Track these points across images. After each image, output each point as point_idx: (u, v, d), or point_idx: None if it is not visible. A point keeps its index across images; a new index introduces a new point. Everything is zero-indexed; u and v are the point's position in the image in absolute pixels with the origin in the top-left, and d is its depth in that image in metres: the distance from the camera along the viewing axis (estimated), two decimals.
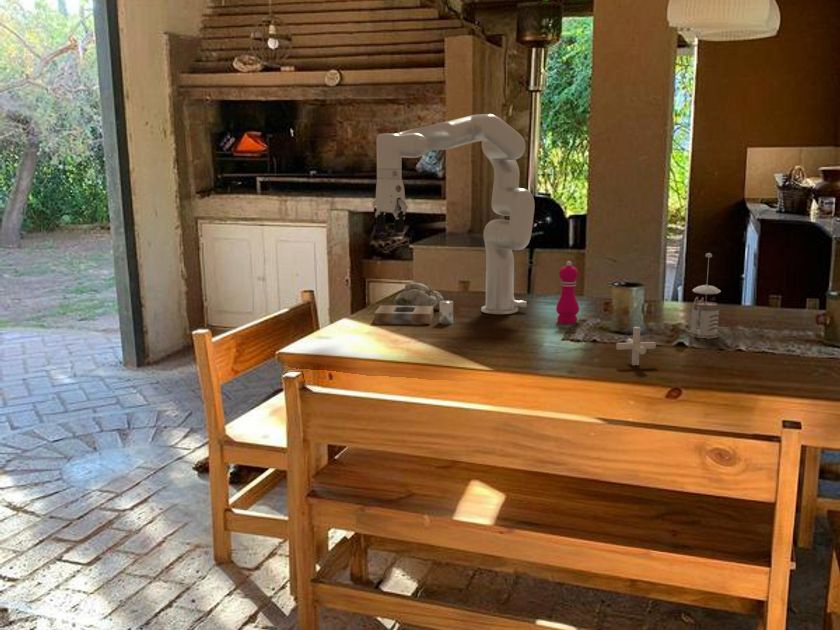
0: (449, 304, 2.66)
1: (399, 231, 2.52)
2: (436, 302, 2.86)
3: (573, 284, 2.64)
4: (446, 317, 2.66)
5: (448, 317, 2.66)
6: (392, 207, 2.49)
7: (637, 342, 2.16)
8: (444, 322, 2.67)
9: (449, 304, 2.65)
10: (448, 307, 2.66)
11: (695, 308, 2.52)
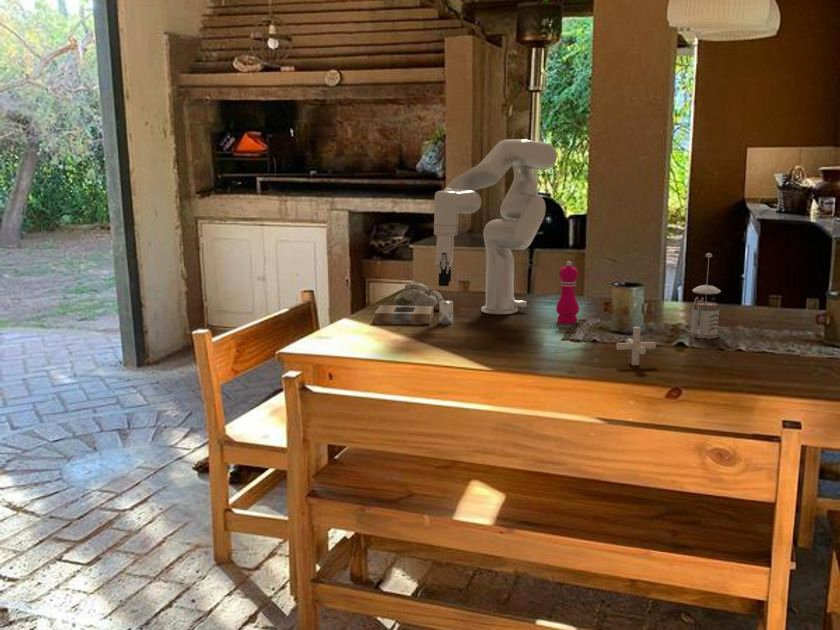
0: (449, 304, 2.66)
1: None
2: (436, 302, 2.86)
3: (573, 284, 2.64)
4: (446, 317, 2.66)
5: (448, 317, 2.66)
6: None
7: (637, 342, 2.16)
8: (444, 322, 2.67)
9: (449, 304, 2.65)
10: (448, 307, 2.66)
11: (695, 308, 2.52)
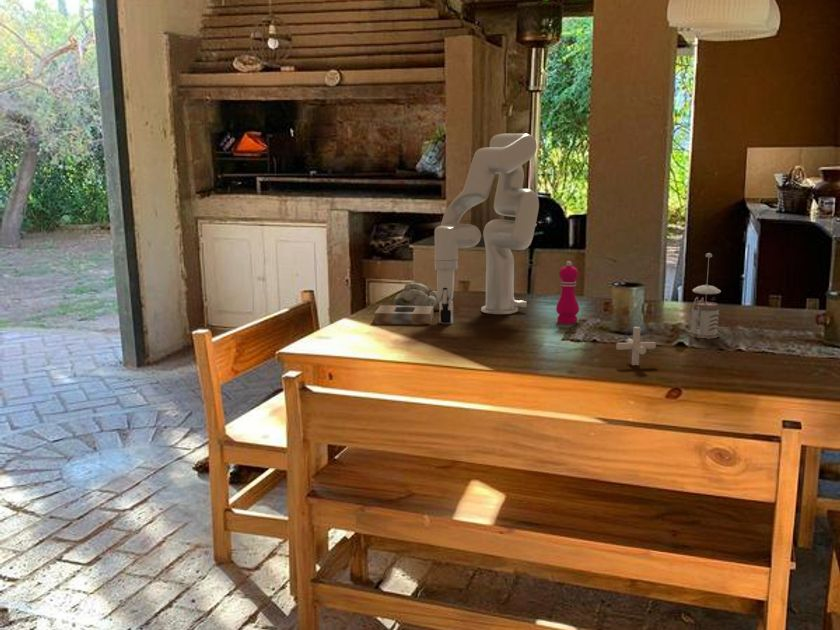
0: None
1: None
2: (435, 302, 2.86)
3: (573, 284, 2.64)
4: None
5: None
6: None
7: (637, 342, 2.16)
8: (444, 322, 2.67)
9: None
10: None
11: (695, 308, 2.52)
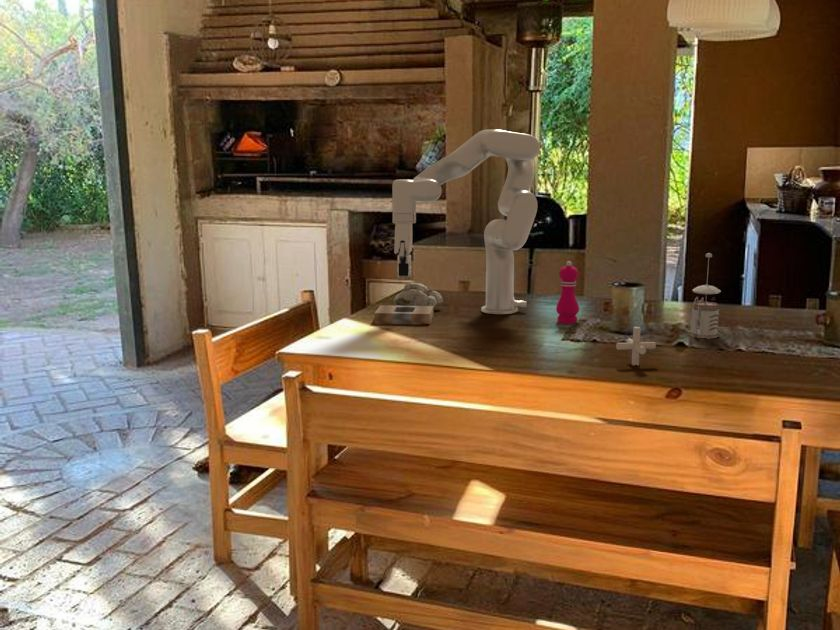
0: None
1: None
2: (435, 302, 2.86)
3: (573, 284, 2.64)
4: None
5: None
6: None
7: (637, 342, 2.16)
8: None
9: None
10: None
11: (695, 308, 2.52)
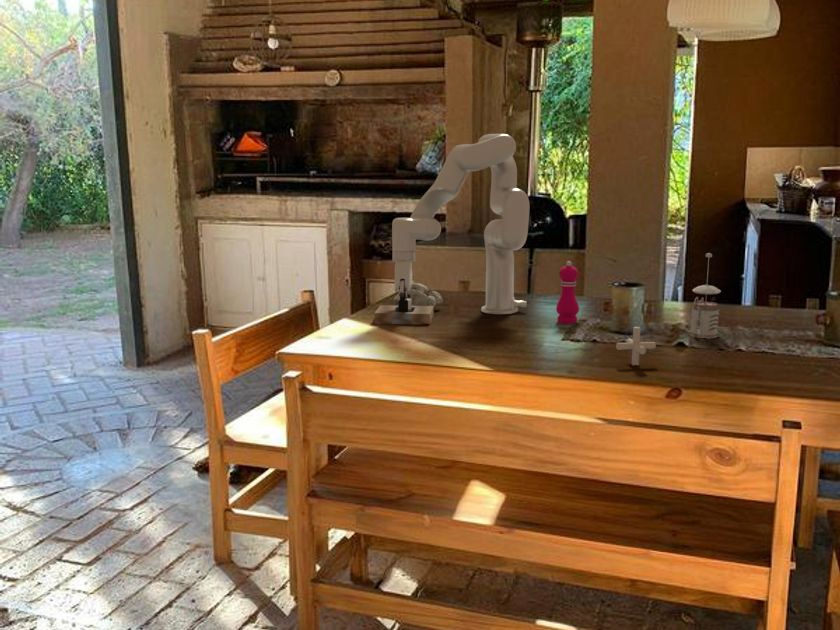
0: None
1: None
2: (435, 302, 2.86)
3: (573, 284, 2.64)
4: None
5: None
6: None
7: (637, 342, 2.16)
8: None
9: None
10: None
11: (695, 308, 2.52)
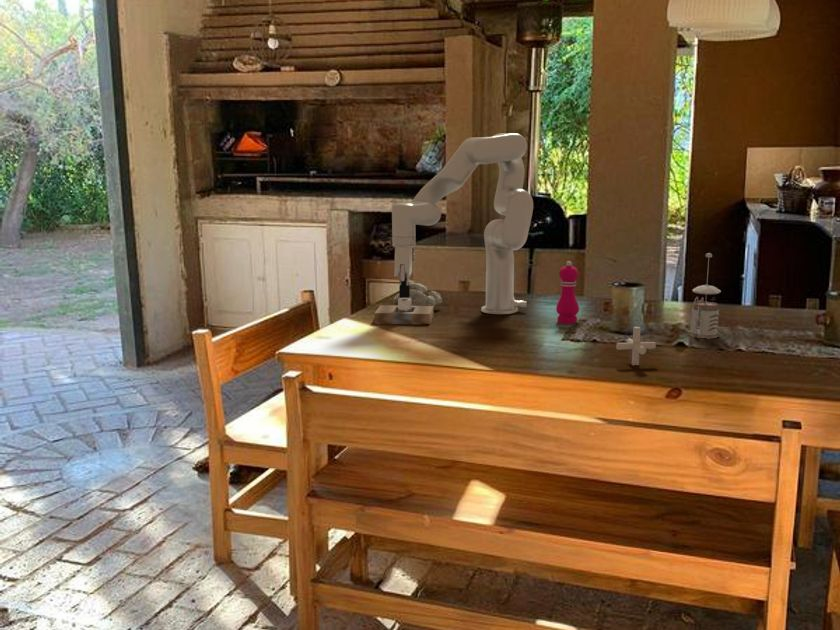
0: (407, 301, 2.70)
1: None
2: (434, 302, 2.86)
3: (573, 284, 2.64)
4: None
5: None
6: None
7: (637, 342, 2.16)
8: None
9: (407, 302, 2.70)
10: (406, 304, 2.70)
11: (695, 308, 2.52)
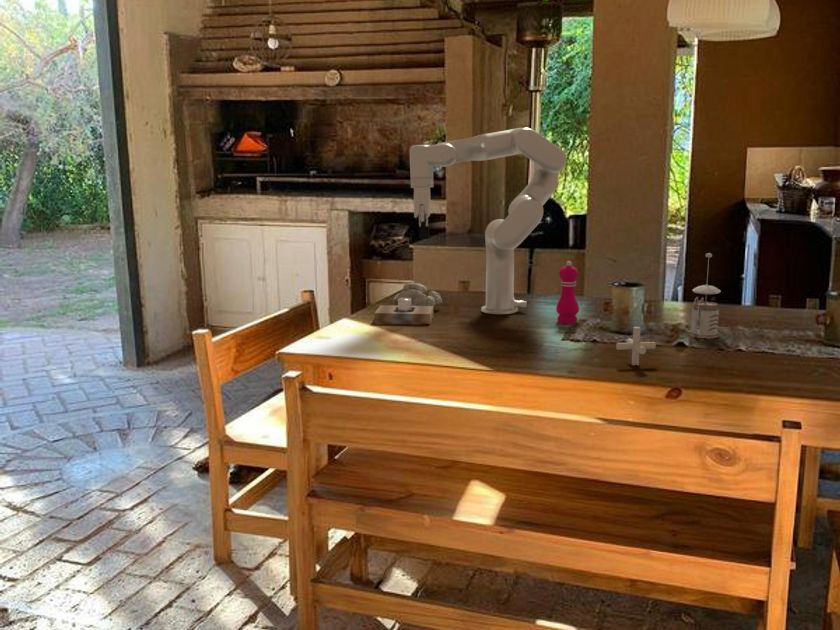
0: (407, 301, 2.70)
1: None
2: (434, 302, 2.86)
3: (573, 284, 2.64)
4: None
5: None
6: None
7: (637, 342, 2.16)
8: None
9: (407, 302, 2.70)
10: (406, 304, 2.70)
11: (695, 308, 2.52)
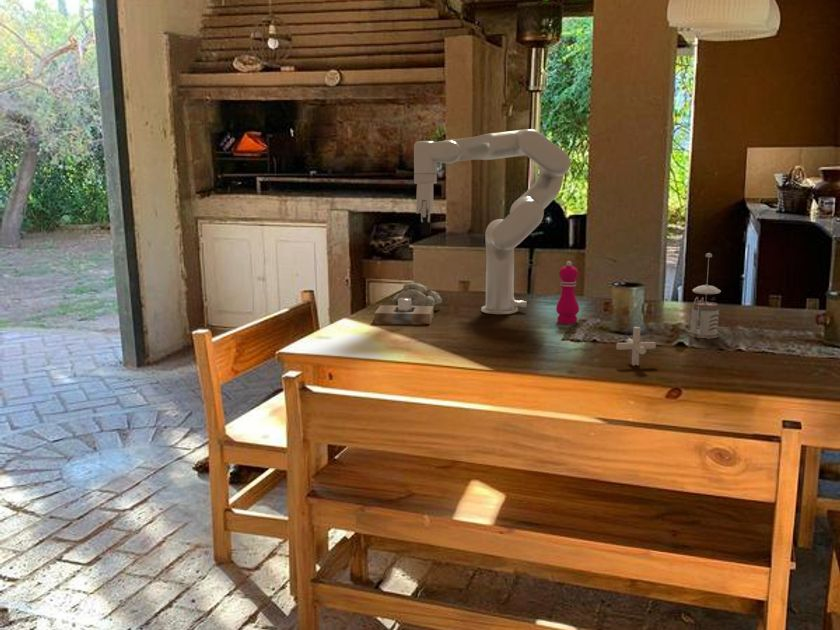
0: (407, 301, 2.70)
1: None
2: (433, 302, 2.85)
3: (573, 284, 2.64)
4: None
5: None
6: None
7: (637, 342, 2.16)
8: None
9: (407, 302, 2.70)
10: (406, 304, 2.70)
11: (695, 308, 2.52)
